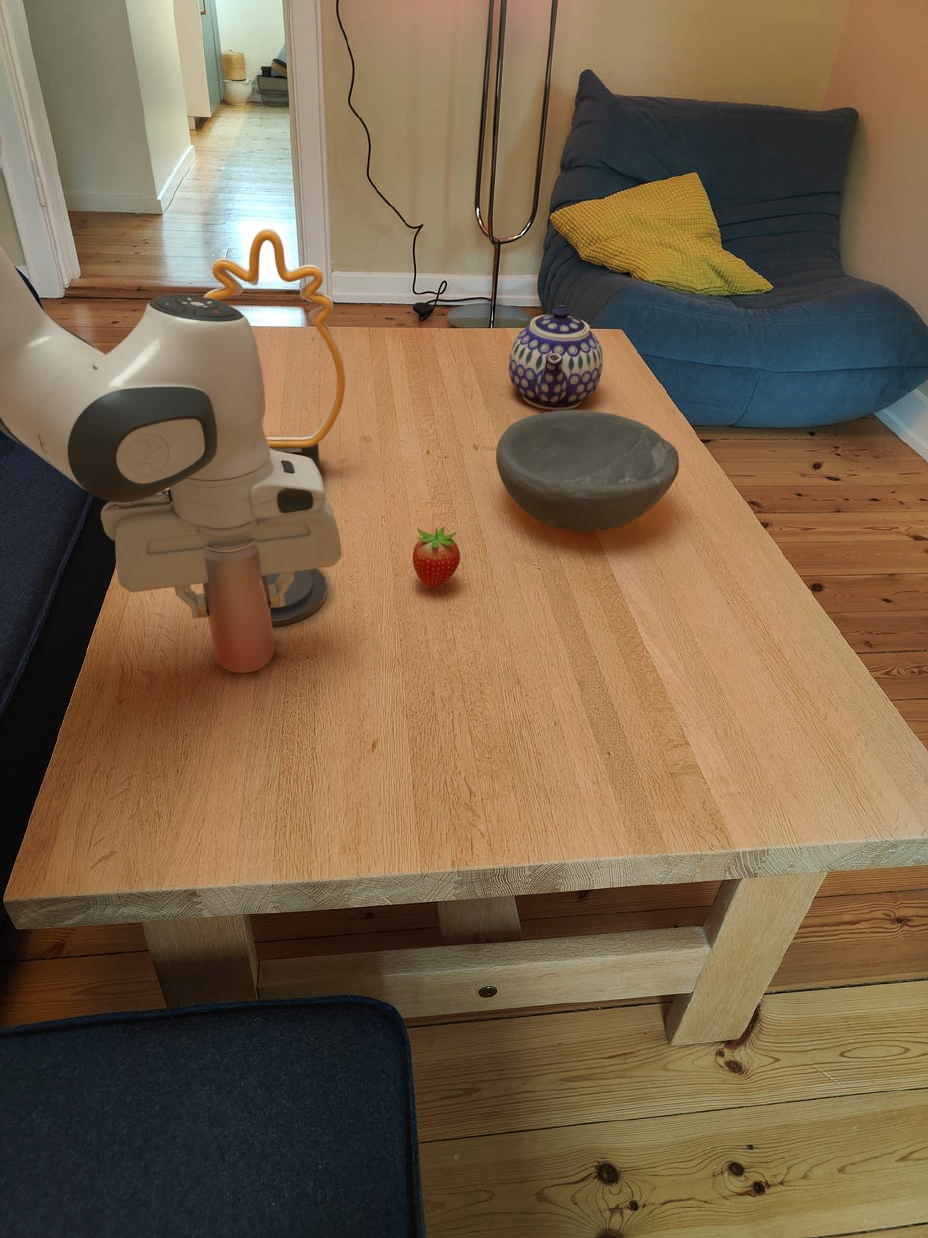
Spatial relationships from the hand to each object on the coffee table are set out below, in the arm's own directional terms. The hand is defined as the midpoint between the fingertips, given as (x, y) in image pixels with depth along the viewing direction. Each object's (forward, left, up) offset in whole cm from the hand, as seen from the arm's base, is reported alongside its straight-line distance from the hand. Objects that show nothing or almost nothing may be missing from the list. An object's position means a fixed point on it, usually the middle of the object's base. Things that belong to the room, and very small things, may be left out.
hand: (239, 608), depth 84 cm
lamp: (+9, +35, -6) cm, 37 cm away
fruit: (+22, +7, -6) cm, 24 cm away
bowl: (+45, +19, -6) cm, 49 cm away
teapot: (+55, +53, -6) cm, 77 cm away
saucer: (+4, +10, -6) cm, 12 cm away
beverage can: (0, 0, -6) cm, 6 cm away
